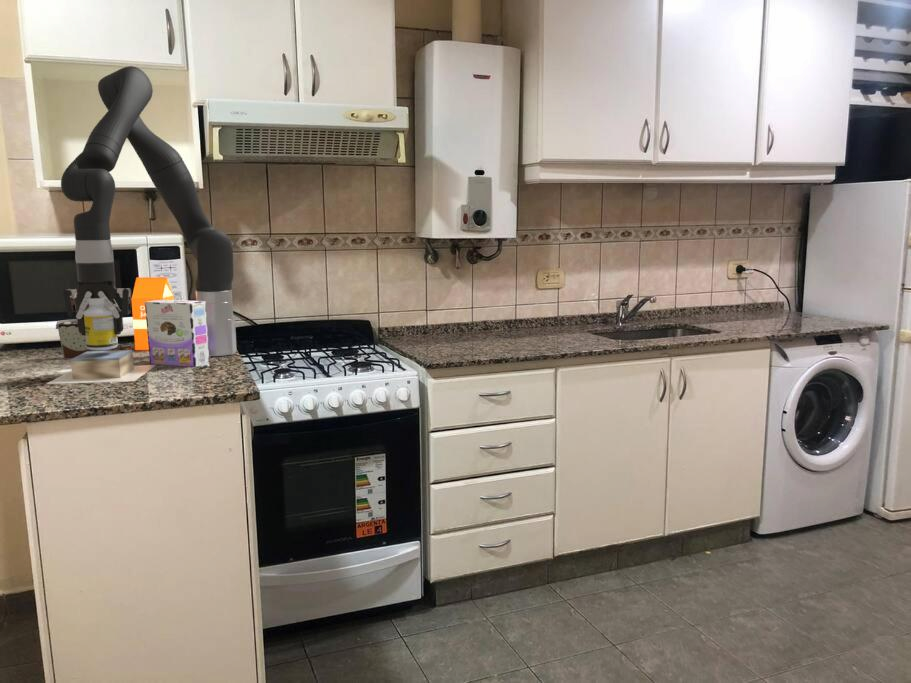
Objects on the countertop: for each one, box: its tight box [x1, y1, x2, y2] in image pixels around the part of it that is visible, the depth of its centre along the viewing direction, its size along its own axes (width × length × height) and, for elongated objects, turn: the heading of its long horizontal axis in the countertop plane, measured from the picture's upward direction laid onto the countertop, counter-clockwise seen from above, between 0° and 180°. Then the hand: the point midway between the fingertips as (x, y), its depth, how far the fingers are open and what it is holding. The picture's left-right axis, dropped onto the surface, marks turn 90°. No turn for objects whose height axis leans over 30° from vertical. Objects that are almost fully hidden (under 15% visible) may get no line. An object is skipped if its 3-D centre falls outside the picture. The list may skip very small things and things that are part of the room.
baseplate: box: [45, 364, 157, 385], centre depth 163 cm, size 18×18×1 cm
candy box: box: [145, 299, 210, 370], centre depth 174 cm, size 14×6×16 cm, turn 71°
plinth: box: [70, 349, 135, 379], centre depth 162 cm, size 10×10×4 cm
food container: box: [55, 318, 102, 360], centre depth 188 cm, size 12×6×10 cm, turn 84°
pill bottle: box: [84, 298, 119, 351], centre depth 161 cm, size 6×6×12 cm
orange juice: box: [131, 276, 175, 351], centre depth 201 cm, size 8×9×20 cm
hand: (101, 334), depth 161 cm, fingers closed on pill bottle, 6 cm apart
